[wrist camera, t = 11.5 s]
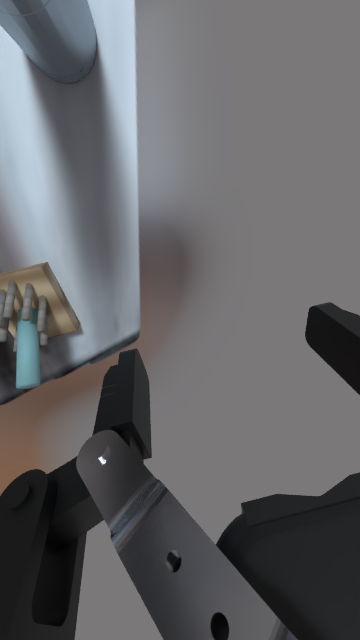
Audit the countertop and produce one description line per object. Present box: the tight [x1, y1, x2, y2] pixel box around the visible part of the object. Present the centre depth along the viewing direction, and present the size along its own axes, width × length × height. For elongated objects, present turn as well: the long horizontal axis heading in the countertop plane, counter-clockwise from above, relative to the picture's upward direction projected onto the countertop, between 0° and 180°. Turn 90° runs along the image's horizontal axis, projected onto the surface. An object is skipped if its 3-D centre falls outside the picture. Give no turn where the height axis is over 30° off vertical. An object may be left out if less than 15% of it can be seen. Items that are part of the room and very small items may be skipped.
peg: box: [16, 307, 40, 389], centre depth 39 cm, size 3×3×14 cm
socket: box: [0, 262, 80, 353], centre depth 41 cm, size 14×12×9 cm
